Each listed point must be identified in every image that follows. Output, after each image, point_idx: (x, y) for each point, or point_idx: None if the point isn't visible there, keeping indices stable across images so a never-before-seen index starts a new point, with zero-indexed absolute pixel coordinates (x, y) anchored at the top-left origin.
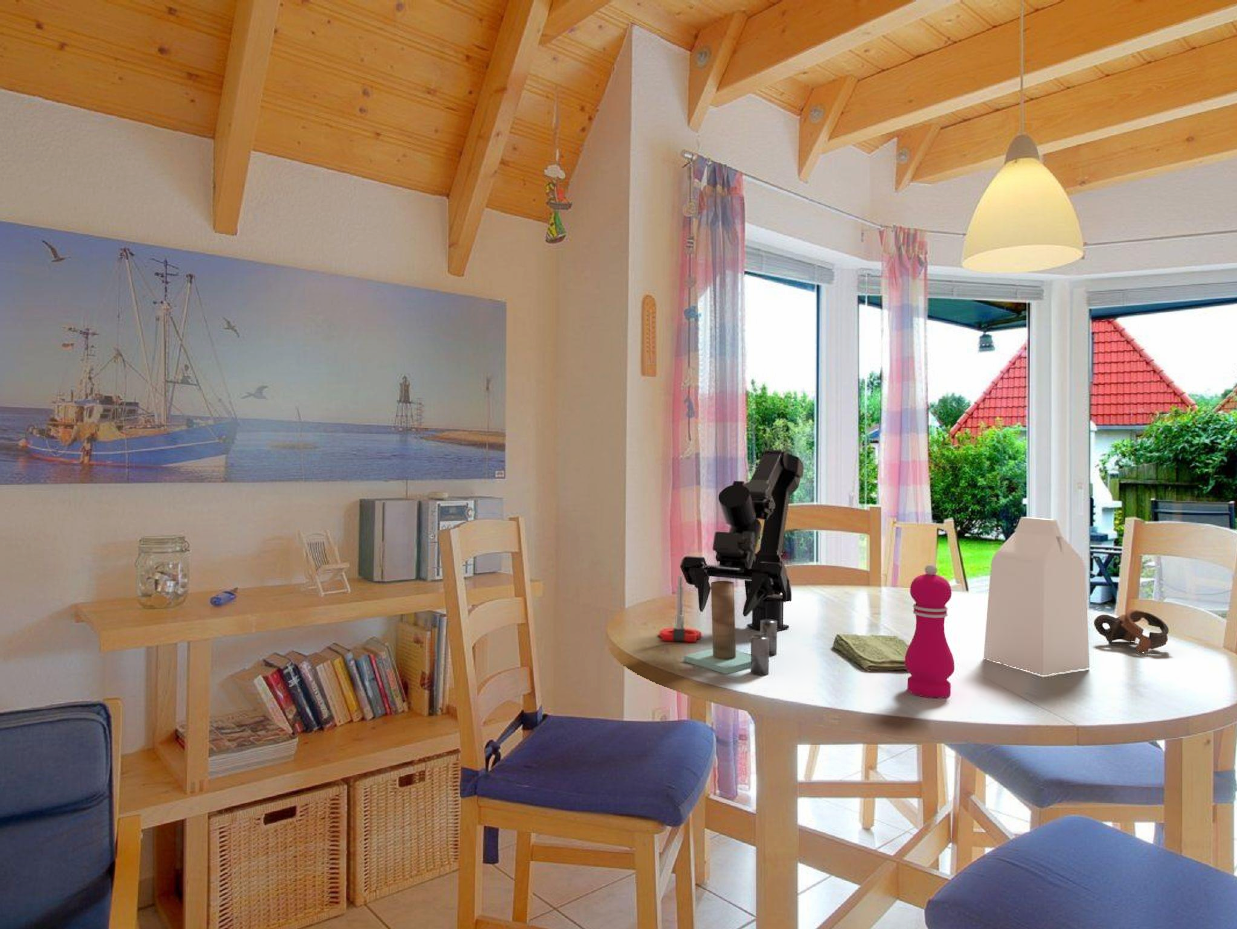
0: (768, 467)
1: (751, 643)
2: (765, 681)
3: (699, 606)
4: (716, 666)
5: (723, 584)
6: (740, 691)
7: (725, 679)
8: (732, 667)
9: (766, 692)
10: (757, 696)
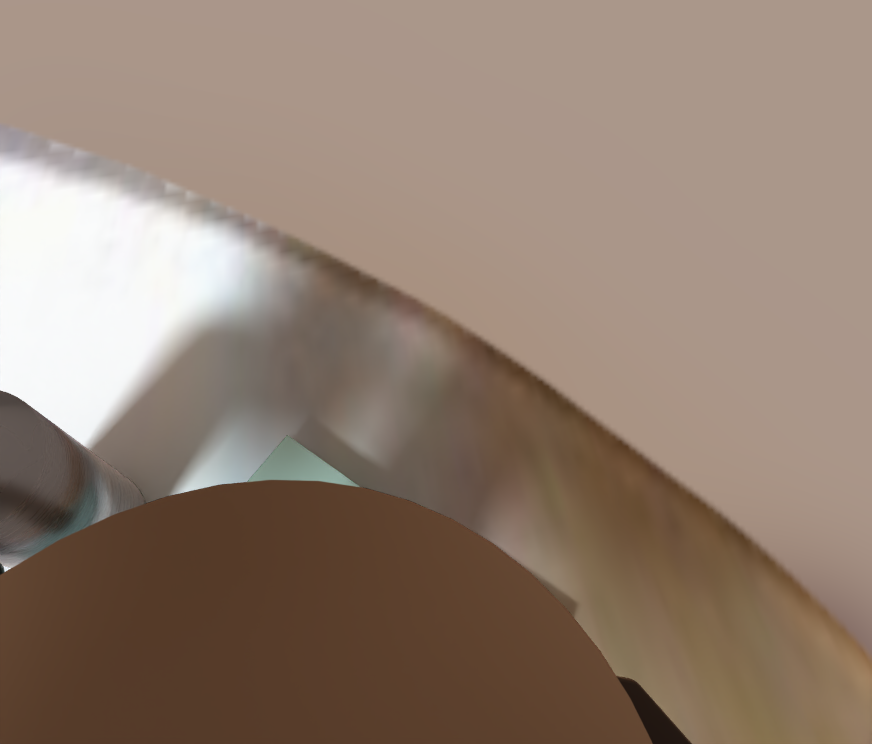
0: None
1: (66, 446)
2: (79, 379)
3: (643, 690)
4: (347, 479)
5: (205, 598)
6: (220, 226)
7: (290, 363)
8: (252, 477)
9: (102, 233)
10: (150, 185)
